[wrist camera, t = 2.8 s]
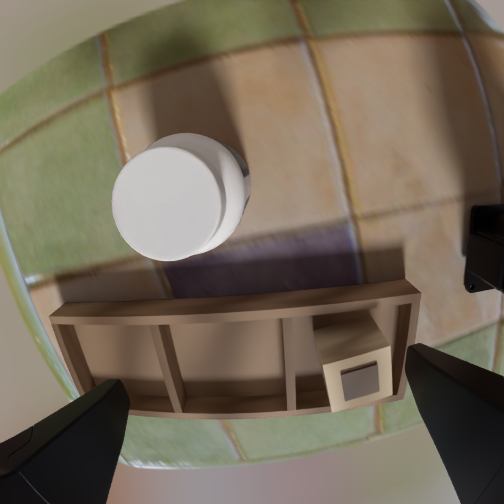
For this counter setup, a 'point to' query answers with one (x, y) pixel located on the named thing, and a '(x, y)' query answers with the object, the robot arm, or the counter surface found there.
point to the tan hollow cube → (354, 362)
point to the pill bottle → (180, 196)
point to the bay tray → (228, 348)
